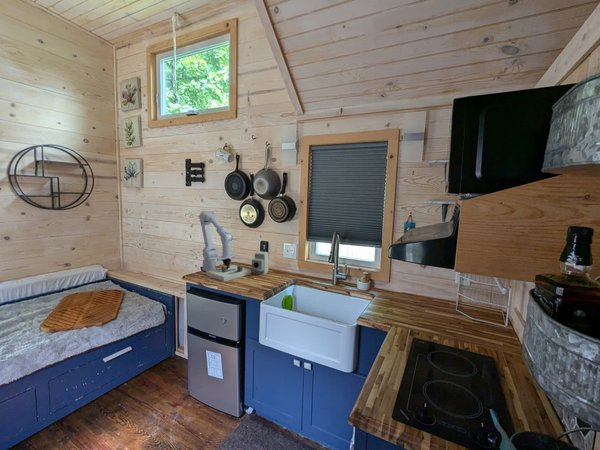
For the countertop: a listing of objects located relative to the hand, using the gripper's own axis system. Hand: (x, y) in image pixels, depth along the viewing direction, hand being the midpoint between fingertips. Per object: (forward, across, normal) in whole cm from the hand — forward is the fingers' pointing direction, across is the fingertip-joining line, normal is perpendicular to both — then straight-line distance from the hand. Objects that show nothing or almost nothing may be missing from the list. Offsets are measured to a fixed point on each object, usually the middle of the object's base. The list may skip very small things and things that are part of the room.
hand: (226, 269), depth 203 cm
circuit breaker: (+5, +19, -14) cm, 24 cm away
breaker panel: (+4, +2, 0) cm, 5 cm away
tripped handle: (+1, -2, 0) cm, 2 cm away
